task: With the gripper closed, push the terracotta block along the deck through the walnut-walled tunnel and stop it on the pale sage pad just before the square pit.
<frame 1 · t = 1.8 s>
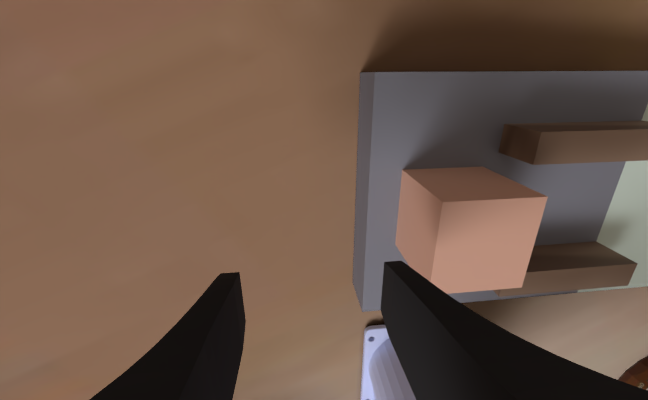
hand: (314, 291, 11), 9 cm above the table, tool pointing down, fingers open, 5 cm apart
food container: (629, 381, 31), on the table
terracotta block: (437, 206, 17), point 3 cm above the table, touching deck
deck: (569, 181, 21), on the table
tunnel walls: (569, 209, 17), on the deck, point 4 cm above the table
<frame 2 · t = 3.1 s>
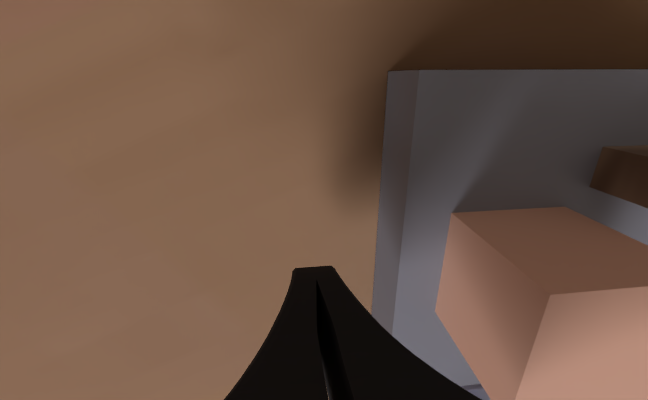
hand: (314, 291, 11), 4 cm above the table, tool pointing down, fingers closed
terracotta block: (496, 261, 12), point 3 cm above the table, touching deck
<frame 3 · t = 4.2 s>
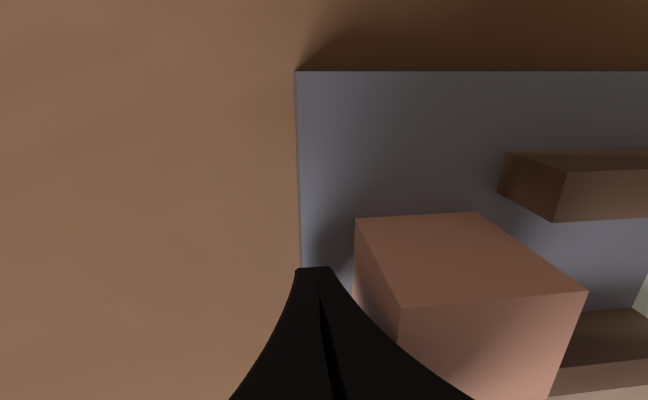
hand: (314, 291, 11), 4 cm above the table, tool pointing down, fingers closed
terracotta block: (410, 267, 12), point 3 cm above the table, touching deck, gripper
deck: (592, 220, 16), on the table
tunnel walls: (601, 275, 11), on the deck, point 4 cm above the table
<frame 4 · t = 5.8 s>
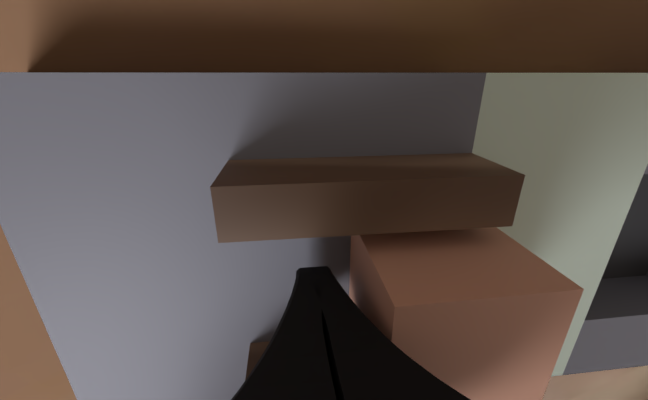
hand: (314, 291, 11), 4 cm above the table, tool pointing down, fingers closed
terracotta block: (407, 267, 12), point 3 cm above the table, touching deck, gripper
deck: (420, 230, 15), on the table
tunnel walls: (358, 294, 10), on the deck, point 4 cm above the table
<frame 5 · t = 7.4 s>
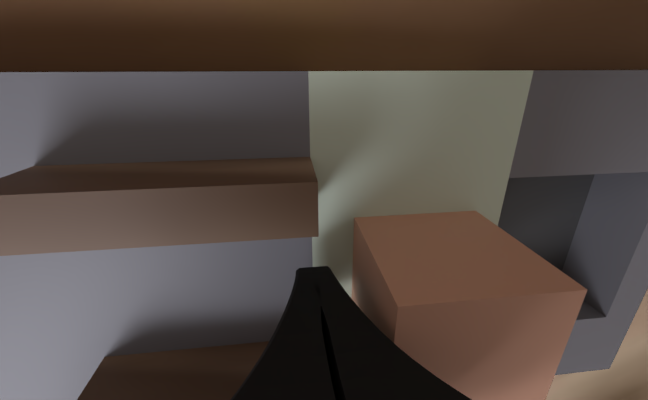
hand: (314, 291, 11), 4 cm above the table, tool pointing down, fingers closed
terracotta block: (410, 267, 12), point 3 cm above the table, touching deck, gripper
deck: (307, 236, 14), on the table
tunnel walls: (191, 308, 10), on the deck, point 4 cm above the table
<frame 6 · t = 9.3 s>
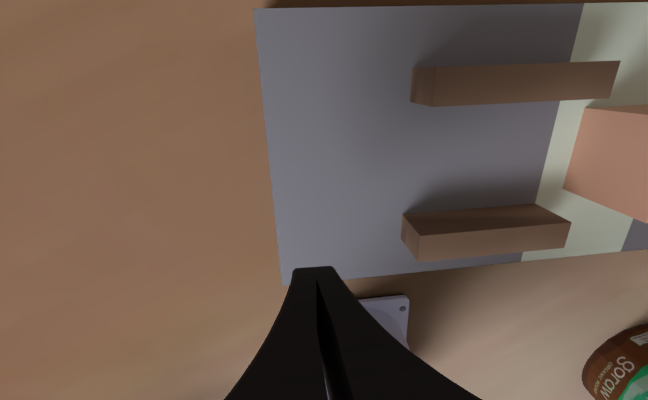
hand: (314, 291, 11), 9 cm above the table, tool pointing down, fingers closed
food container: (600, 361, 29), on the table
terracotta block: (609, 147, 17), point 3 cm above the table, touching deck
deck: (510, 141, 20), on the table
tunnel walls: (492, 163, 15), on the deck, point 4 cm above the table
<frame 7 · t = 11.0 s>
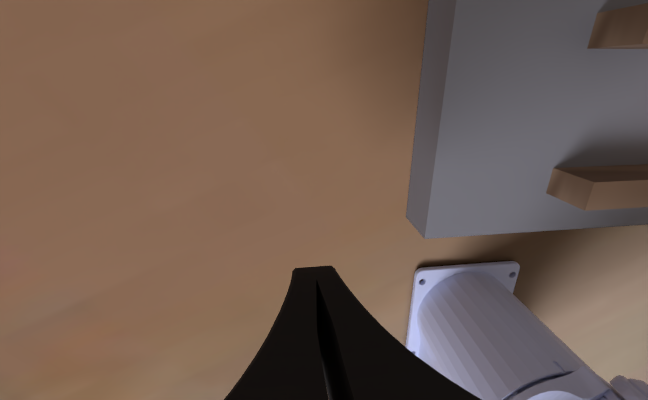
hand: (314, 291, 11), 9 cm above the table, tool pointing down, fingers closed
deck: (642, 105, 20), on the table
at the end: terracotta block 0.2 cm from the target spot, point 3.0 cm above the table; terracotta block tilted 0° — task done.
